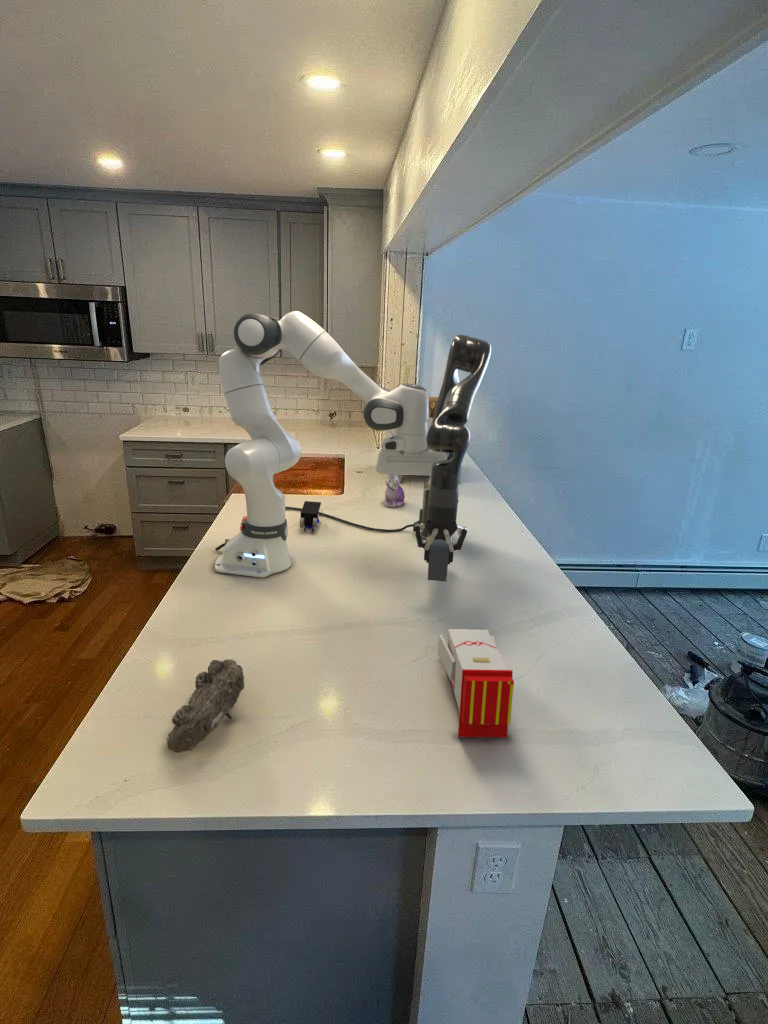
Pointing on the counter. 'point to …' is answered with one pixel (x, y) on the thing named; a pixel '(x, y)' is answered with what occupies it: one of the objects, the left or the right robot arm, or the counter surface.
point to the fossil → (206, 705)
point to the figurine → (393, 493)
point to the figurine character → (310, 515)
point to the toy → (478, 682)
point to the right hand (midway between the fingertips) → (438, 562)
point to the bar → (438, 560)
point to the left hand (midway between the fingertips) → (411, 489)
